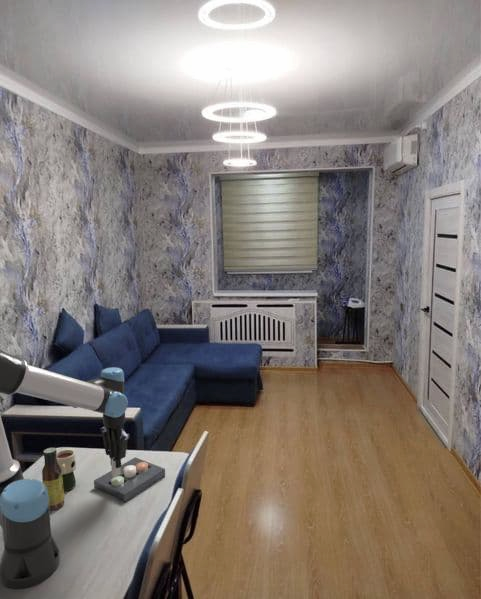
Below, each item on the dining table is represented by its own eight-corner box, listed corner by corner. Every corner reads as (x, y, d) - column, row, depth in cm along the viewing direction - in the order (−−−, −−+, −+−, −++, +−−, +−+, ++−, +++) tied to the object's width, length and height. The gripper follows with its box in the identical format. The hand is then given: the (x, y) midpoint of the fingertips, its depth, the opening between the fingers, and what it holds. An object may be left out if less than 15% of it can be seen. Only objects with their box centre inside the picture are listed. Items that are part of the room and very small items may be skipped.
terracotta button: (142, 477, 167) (141, 469, 167) (134, 474, 170) (133, 465, 169) (150, 472, 171) (150, 464, 170) (142, 469, 173) (142, 460, 173)
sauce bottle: (68, 505, 152) (64, 450, 149) (49, 513, 147) (45, 457, 144) (59, 497, 156) (55, 444, 153) (41, 505, 152) (36, 450, 149)
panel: (124, 502, 153) (124, 494, 152) (94, 488, 162) (93, 480, 161) (165, 476, 169) (164, 468, 169) (135, 464, 178) (135, 457, 178)
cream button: (130, 481, 162) (129, 472, 162) (121, 478, 165) (121, 469, 164) (138, 476, 166) (138, 467, 165) (130, 472, 168) (130, 463, 168)
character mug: (75, 494, 158) (73, 459, 156) (54, 497, 156) (51, 462, 154) (78, 477, 169) (76, 445, 167) (58, 480, 167) (55, 448, 165)
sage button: (117, 493, 157) (116, 484, 157) (108, 489, 160) (108, 480, 159) (126, 487, 161) (126, 478, 161) (118, 483, 164) (118, 474, 163)
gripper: (135, 412, 156) (136, 475, 159) (109, 404, 163) (112, 465, 166) (118, 419, 149) (120, 485, 153) (92, 411, 157) (95, 474, 160)
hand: (116, 475), depth 159 cm, fingers closed
